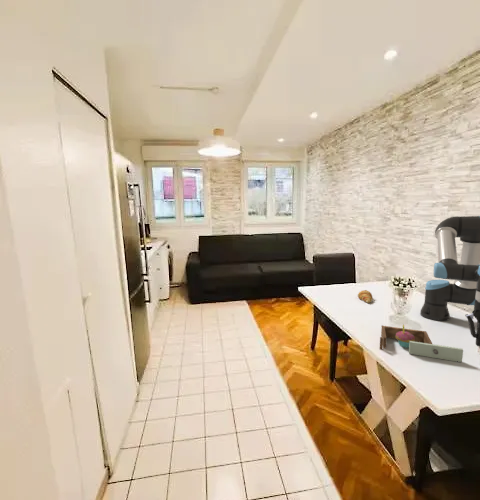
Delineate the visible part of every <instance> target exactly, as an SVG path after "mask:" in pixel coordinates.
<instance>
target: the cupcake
mask: <svg viewBox="0 0 480 500" xmlns="http://www.w3.org/2000/svg"><path fill="white" fill-rule="evenodd" d="M402 328H403V331H399V332H397V333H396V339H395V340H397V341H398V345H399V346H400V347H402V348H406V349H407V348H408V349H409V342H410V341H415V337H414V335H412V334H411V333H409V332H406V331H404V329H405V325H404V323H402Z"/></svg>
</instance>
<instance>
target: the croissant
mask: <svg viewBox="0 0 480 500" xmlns="http://www.w3.org/2000/svg"><path fill="white" fill-rule="evenodd" d="M357 297H358V299H360V300H361V301H363V302H365V303H366V304H367V303H368V304H369V303H371V302H372V301H373V295H372V292H370V291H369V290H367V289H365V290H361V291H359V292H358V294H357Z"/></svg>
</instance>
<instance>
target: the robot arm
mask: <svg viewBox="0 0 480 500" xmlns="http://www.w3.org/2000/svg"><path fill="white" fill-rule="evenodd" d="M434 236H435V238H436V240H437V257H438V259H437V260H438V261H437V262H435V263H434V265H433V277H434V278H436V279H430V280H428V281H426V283H425V288H424V289H425V292H424V293H425V294H424V302H423V304H422V307H421V308H420V313H419V314H420V316H422V317H423V318H426V319H428V320H432V321H438V322H439V321H440V322H444V321H445V322H446V321H449V320H450V318H451V315H450V311H449V308H448V303H451V304H456V305H457V304H459V305H466V306H473V310H472V312H471V313H469V314H465V317H466V320H467V322H468V326H469V330H470V331H469V332H470V335H471V337H472V338H473V339H475V345H476V346H477V353H478V354H479V355H480V215H472V216H471V215H470V216H468V215H467V216H450V217H447V218H446V219H444V220H442V221H440V222H439V224H438V225H436V228H435V231H434ZM456 238H459V241H461V243H462V247H461V255H460V261H458V255H457V254H458V253H457V245H456V244H457V243H456ZM449 280H451V281H453V280H454V282H453V283H451V282H450V281H449ZM474 318H475V320H477V322H476V323H477V324H476V327H475V323H474Z"/></svg>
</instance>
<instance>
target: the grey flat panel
mask: <svg viewBox="0 0 480 500" xmlns="http://www.w3.org/2000/svg"><path fill="white" fill-rule="evenodd" d="M408 354H409V355H415V356H416V355H417V356H421V357H426V358H427V357H428V358H433V359H439V360H440V359H441V360H446V361H452V362H457V361H458V363H462V362H463V357H464V356H463V355H464V349H463V348H461V347H454V346H453V347H452V346H446V345H440V344H435V343H434V344H433V343H432V344H427V343H421V342H414V341H410V342H409V348H408Z"/></svg>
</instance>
